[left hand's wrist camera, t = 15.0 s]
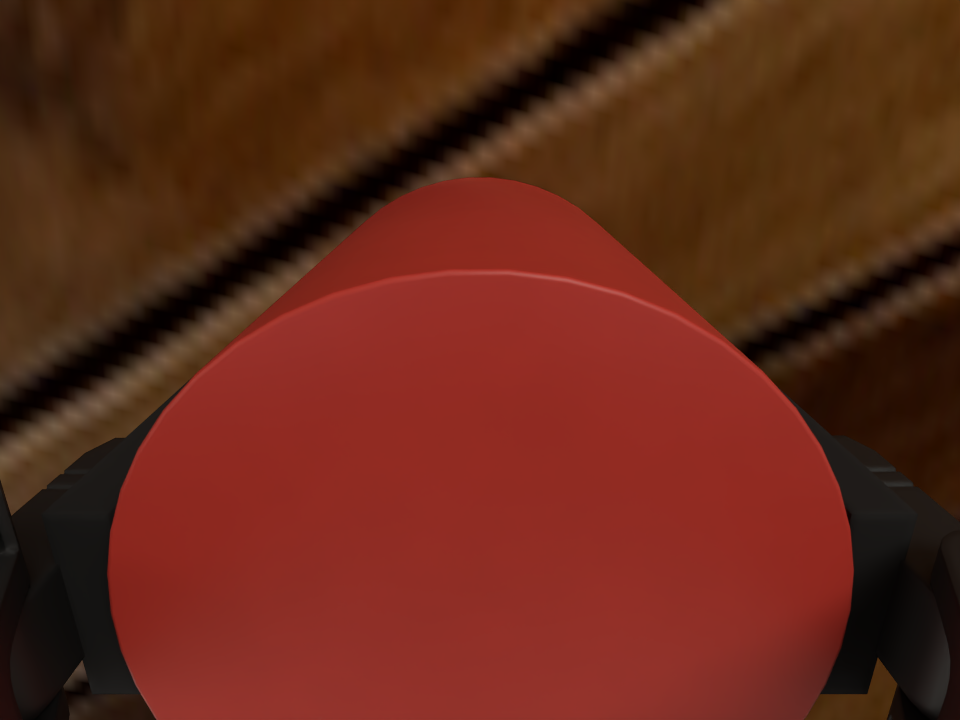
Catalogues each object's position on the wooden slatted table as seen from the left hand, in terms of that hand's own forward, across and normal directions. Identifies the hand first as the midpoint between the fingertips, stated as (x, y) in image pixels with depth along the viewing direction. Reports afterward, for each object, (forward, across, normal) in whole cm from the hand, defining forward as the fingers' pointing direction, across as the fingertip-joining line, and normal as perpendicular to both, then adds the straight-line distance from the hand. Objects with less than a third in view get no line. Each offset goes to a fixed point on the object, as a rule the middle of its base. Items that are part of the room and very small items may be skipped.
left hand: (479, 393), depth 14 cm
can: (+3, 0, 0) cm, 3 cm away
